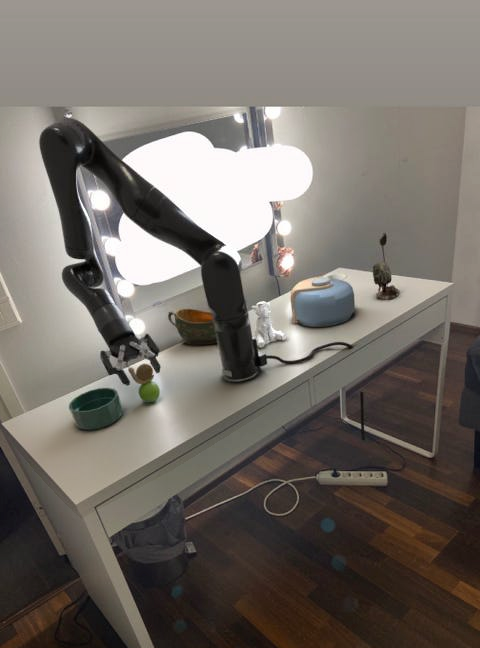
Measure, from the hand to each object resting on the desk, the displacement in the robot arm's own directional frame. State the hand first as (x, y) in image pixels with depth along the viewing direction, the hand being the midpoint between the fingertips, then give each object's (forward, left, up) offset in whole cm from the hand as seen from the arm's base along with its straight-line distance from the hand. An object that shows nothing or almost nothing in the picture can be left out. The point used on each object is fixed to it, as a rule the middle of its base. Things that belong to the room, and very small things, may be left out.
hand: (143, 377), depth 125 cm
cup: (-32, -25, -7) cm, 41 cm away
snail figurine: (0, -1, -7) cm, 7 cm away
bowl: (+13, -4, -7) cm, 15 cm away
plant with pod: (-90, 0, -7) cm, 90 cm away
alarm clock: (-66, -5, -7) cm, 67 cm away
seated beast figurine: (-43, -6, -7) cm, 44 cm away
